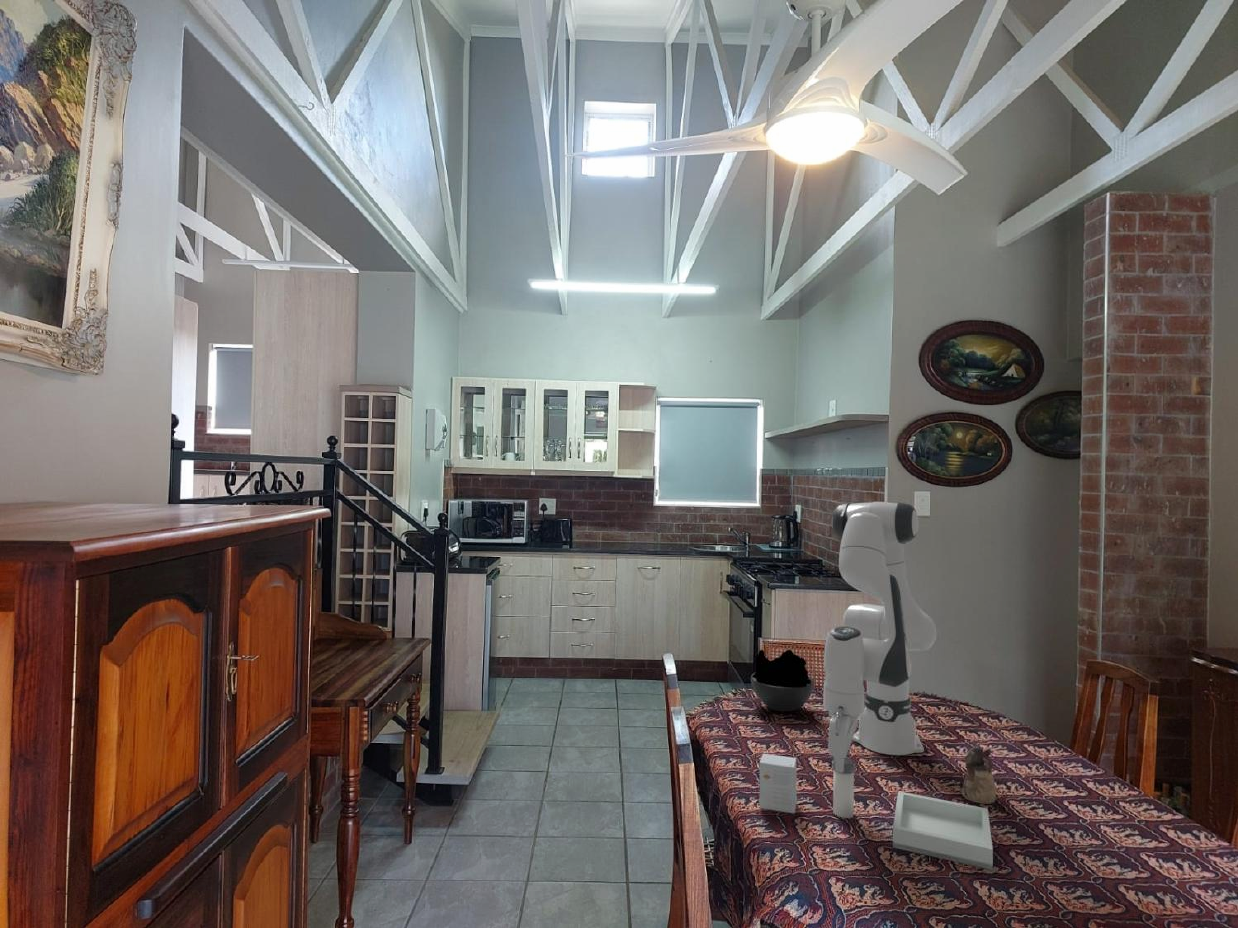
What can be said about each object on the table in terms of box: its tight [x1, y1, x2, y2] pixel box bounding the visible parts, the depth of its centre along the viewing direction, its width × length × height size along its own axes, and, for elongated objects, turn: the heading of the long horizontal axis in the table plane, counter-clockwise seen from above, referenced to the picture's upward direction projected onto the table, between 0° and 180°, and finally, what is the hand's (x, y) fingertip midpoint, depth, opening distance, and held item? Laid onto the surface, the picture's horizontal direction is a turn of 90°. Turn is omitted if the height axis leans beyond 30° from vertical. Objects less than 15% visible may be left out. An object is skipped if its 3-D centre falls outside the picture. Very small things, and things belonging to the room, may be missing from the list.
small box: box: [759, 753, 798, 814], centre depth 157 cm, size 8×6×10 cm
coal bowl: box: [750, 649, 815, 712], centre depth 221 cm, size 20×20×19 cm
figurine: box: [961, 745, 997, 805], centre depth 162 cm, size 7×7×12 cm
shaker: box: [832, 757, 856, 819], centre depth 154 cm, size 5×5×12 cm
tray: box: [892, 790, 994, 871], centre depth 144 cm, size 18×18×4 cm
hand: (842, 763), depth 153 cm, fingers open, 8 cm apart
